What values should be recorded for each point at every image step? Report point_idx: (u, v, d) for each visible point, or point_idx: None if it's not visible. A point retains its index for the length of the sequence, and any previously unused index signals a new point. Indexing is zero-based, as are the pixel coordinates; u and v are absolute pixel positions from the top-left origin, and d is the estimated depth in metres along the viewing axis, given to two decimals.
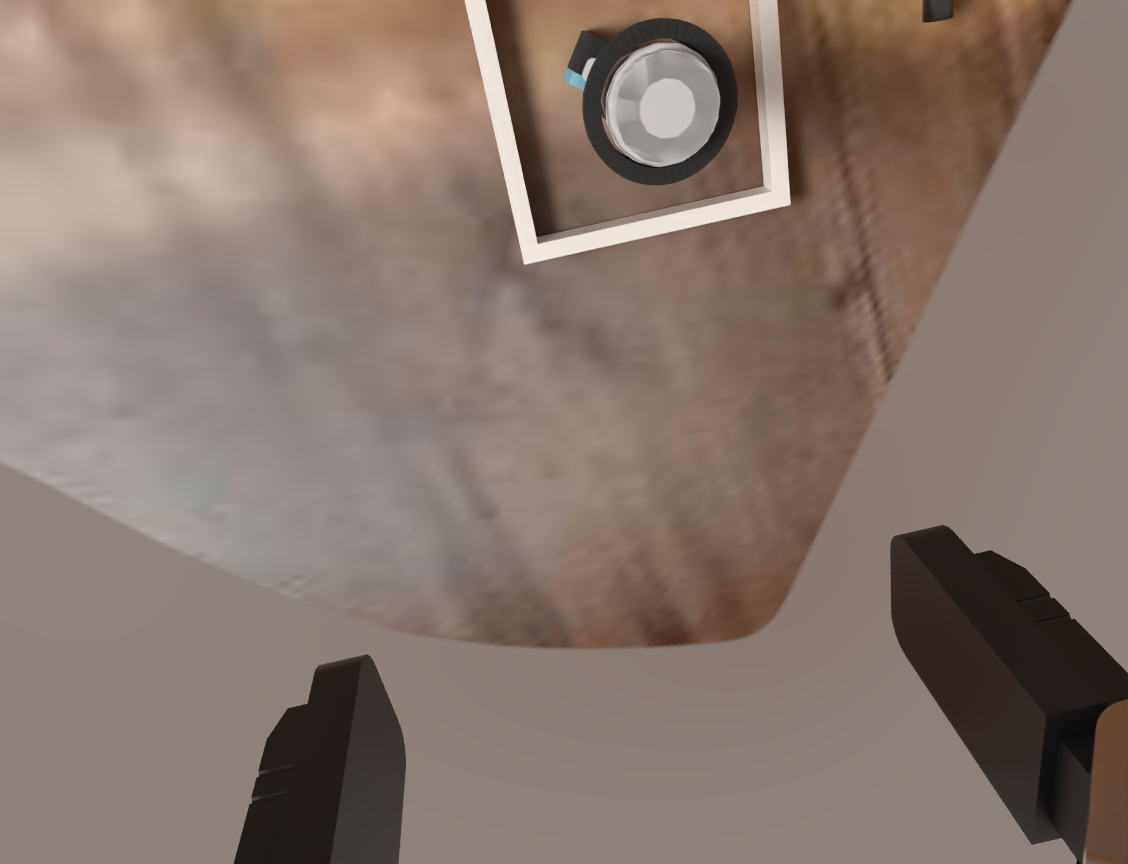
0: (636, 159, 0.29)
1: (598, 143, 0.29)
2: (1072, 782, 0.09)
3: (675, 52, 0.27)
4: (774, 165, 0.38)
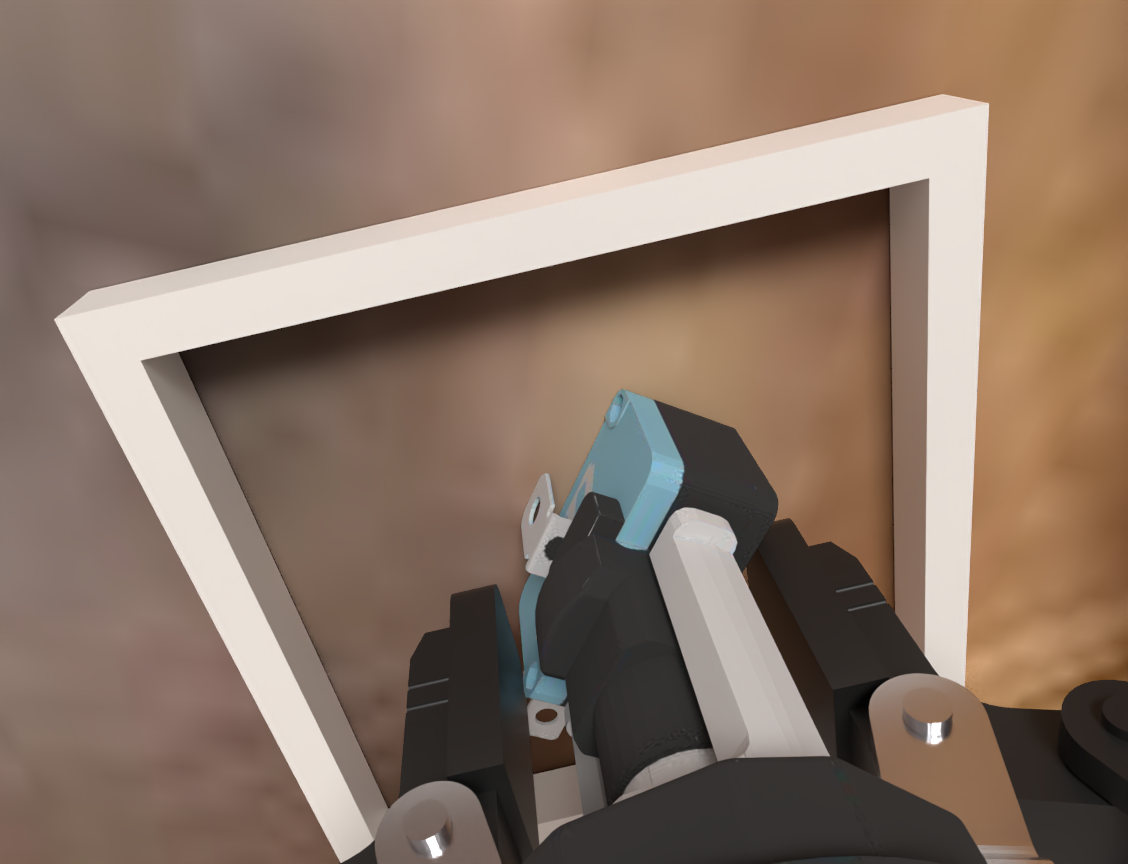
0: None
1: None
2: (859, 751, 0.10)
3: None
4: None
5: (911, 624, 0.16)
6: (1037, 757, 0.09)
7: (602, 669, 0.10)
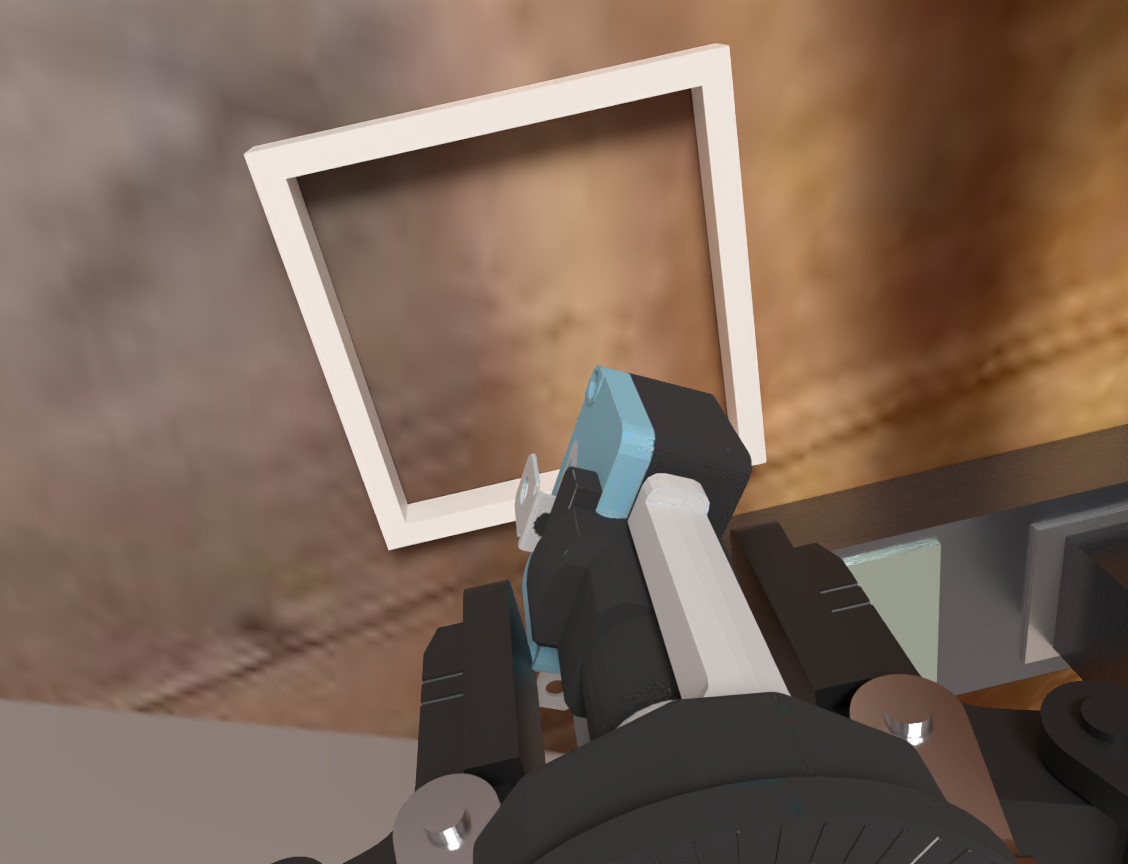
0: None
1: None
2: None
3: None
4: (442, 520, 0.27)
5: (728, 373, 0.26)
6: (1016, 757, 0.09)
7: (584, 633, 0.11)
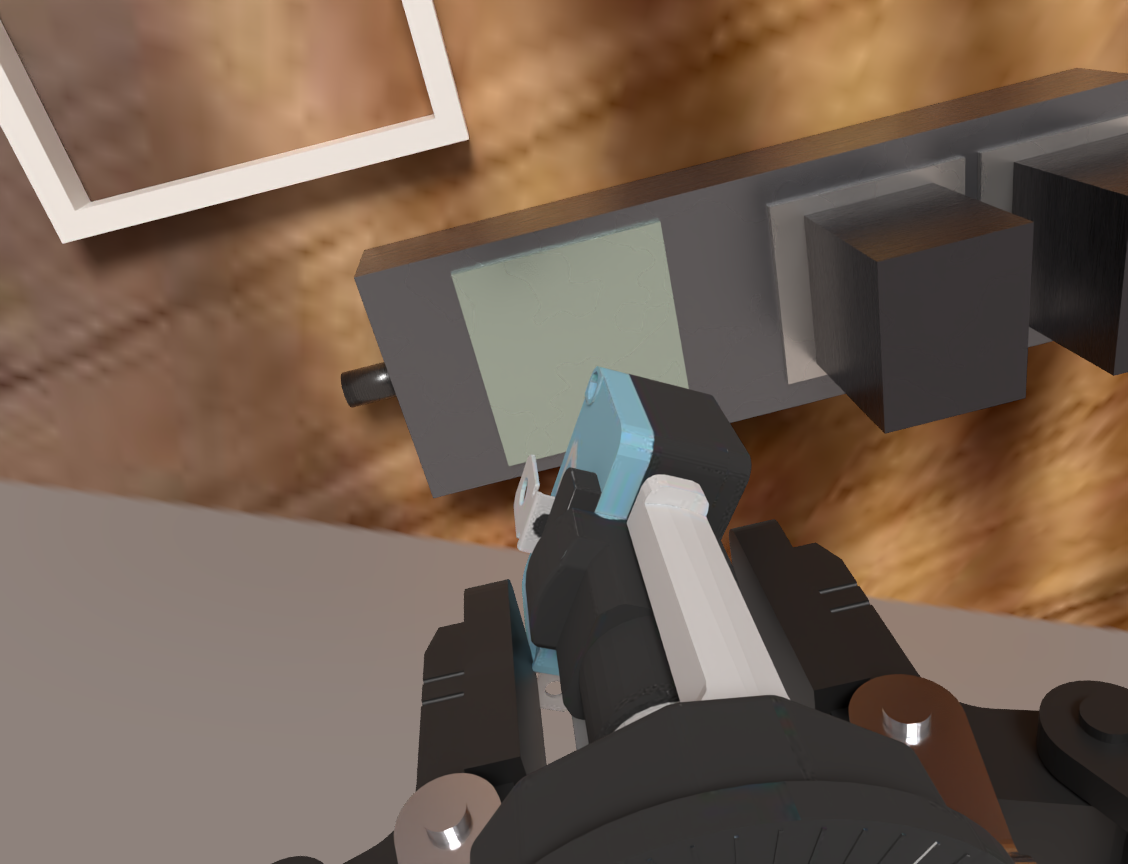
0: None
1: None
2: None
3: None
4: (115, 207, 0.25)
5: None
6: (1016, 757, 0.09)
7: (583, 634, 0.11)
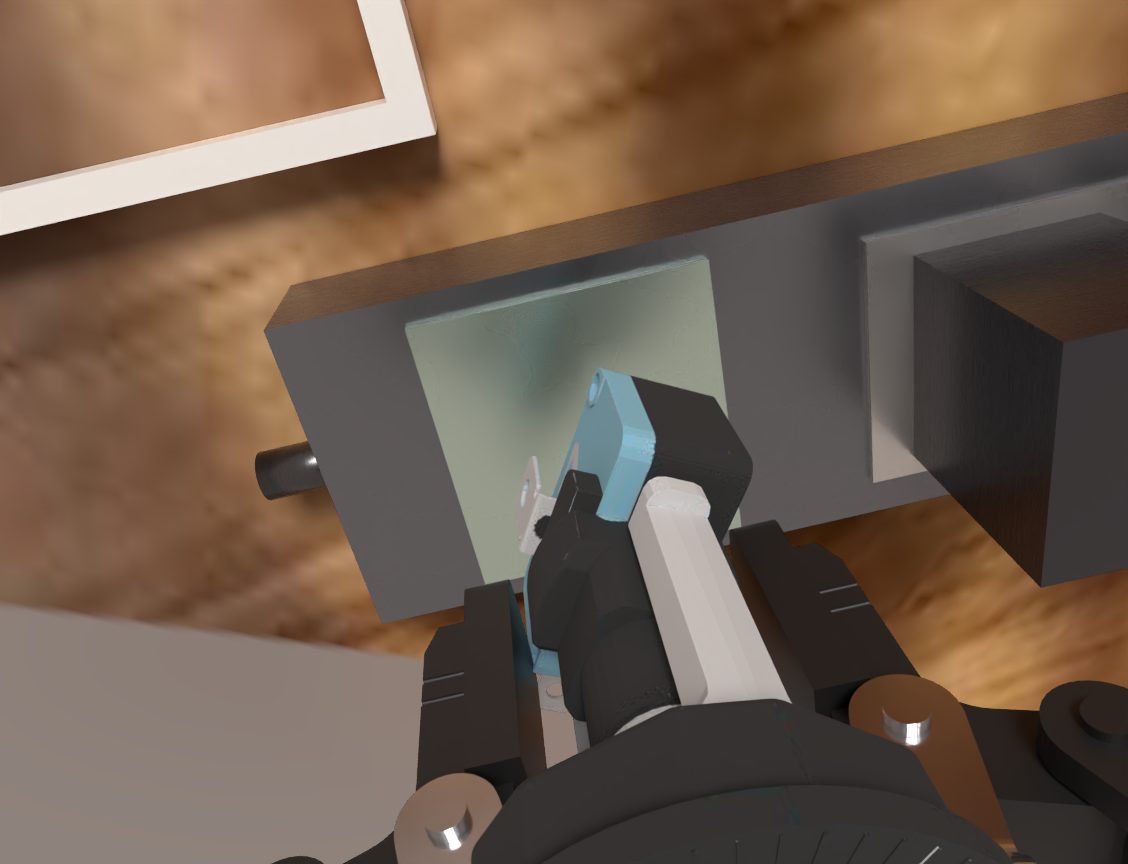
0: None
1: None
2: None
3: None
4: None
5: None
6: (1015, 757, 0.09)
7: (585, 637, 0.11)
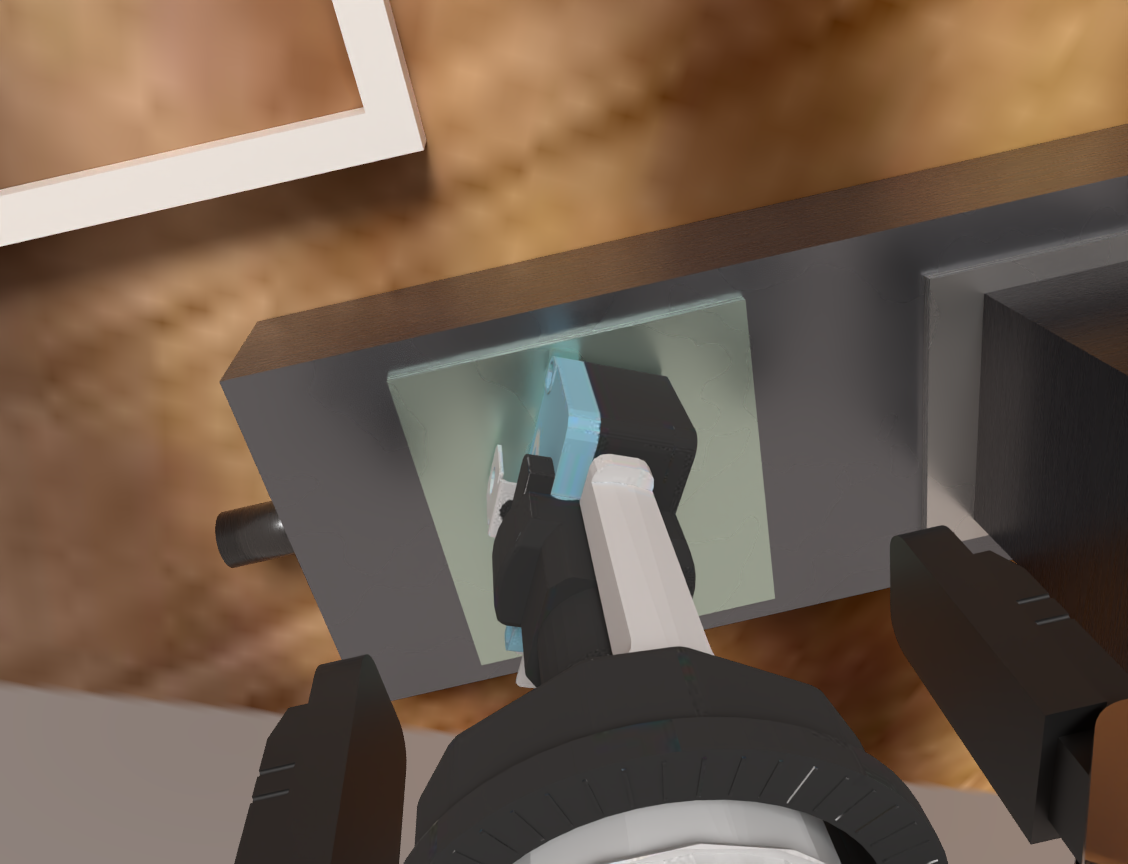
0: None
1: (495, 837, 0.07)
2: (1071, 782, 0.09)
3: None
4: None
5: None
6: None
7: (538, 610, 0.11)
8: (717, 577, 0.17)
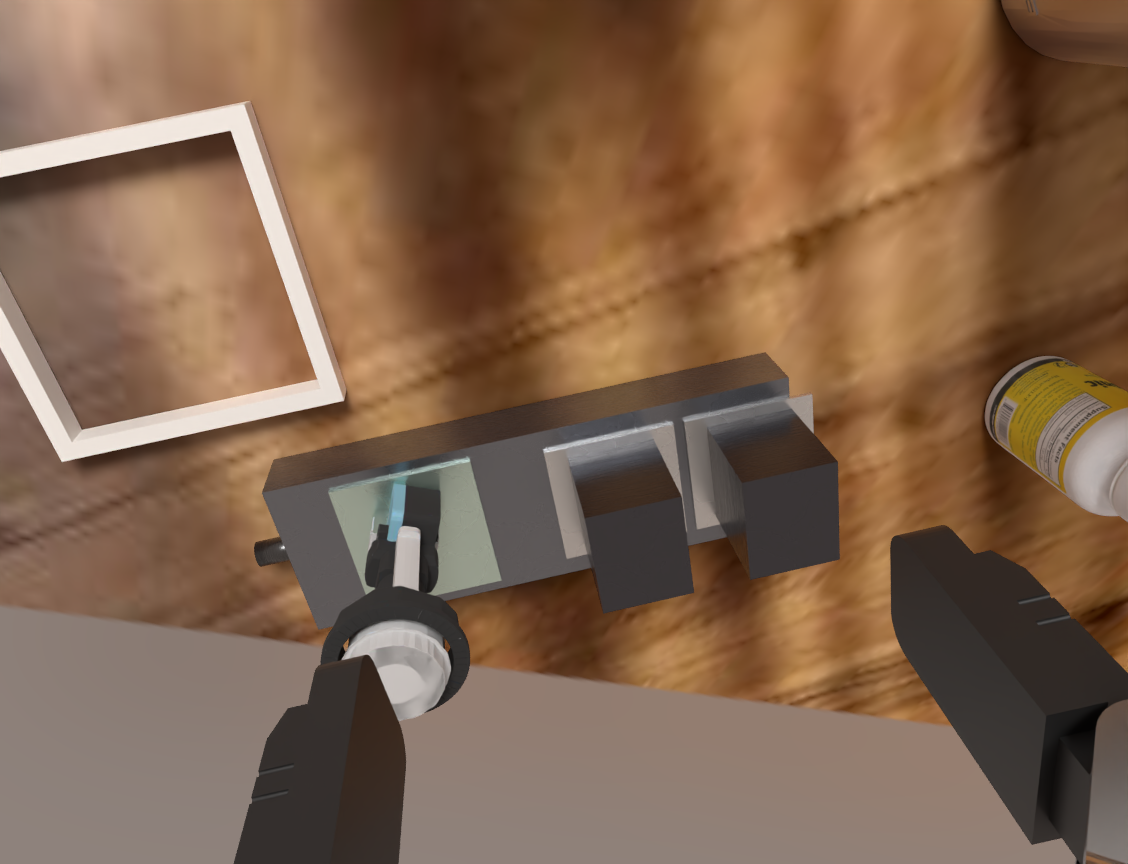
0: None
1: (347, 627, 0.29)
2: (1072, 782, 0.09)
3: (443, 677, 0.30)
4: (99, 440, 0.36)
5: None
6: None
7: (377, 579, 0.34)
8: (474, 571, 0.40)
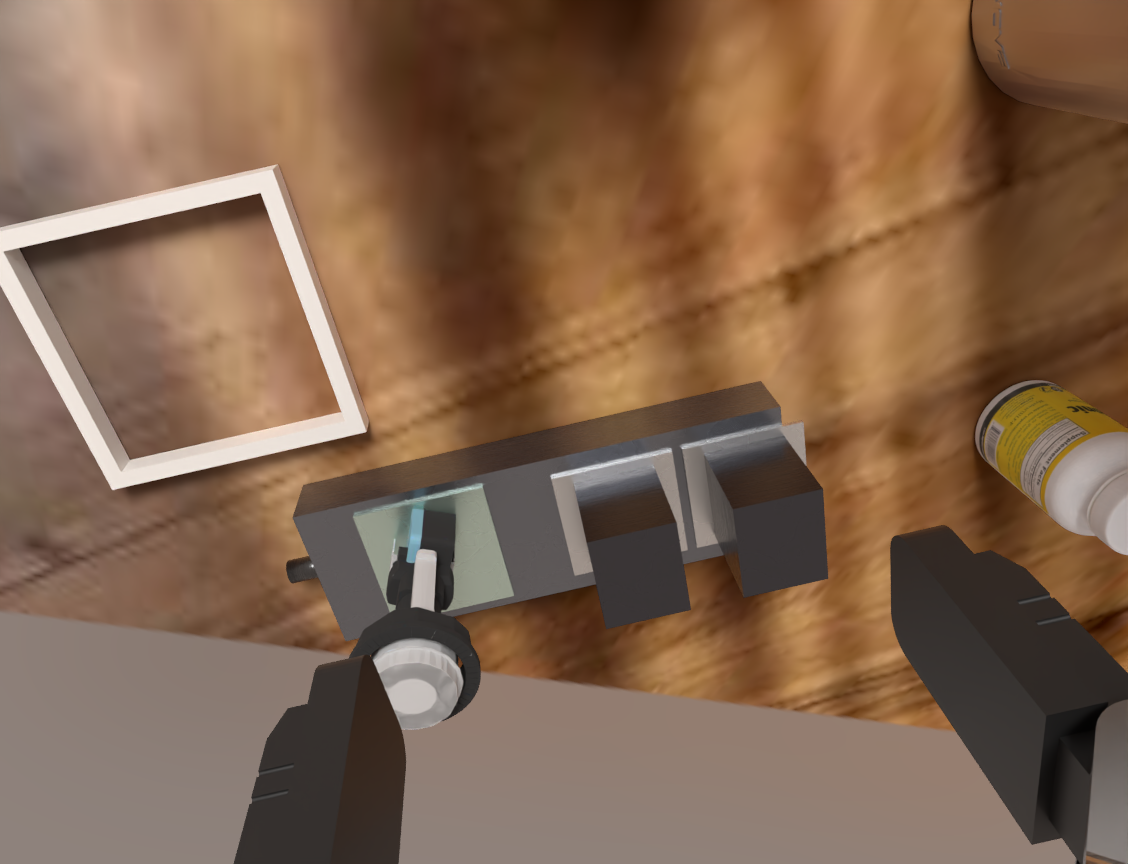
0: None
1: (368, 645, 0.32)
2: (1072, 782, 0.09)
3: (456, 691, 0.33)
4: (146, 470, 0.40)
5: None
6: None
7: (397, 599, 0.37)
8: (488, 587, 0.43)
